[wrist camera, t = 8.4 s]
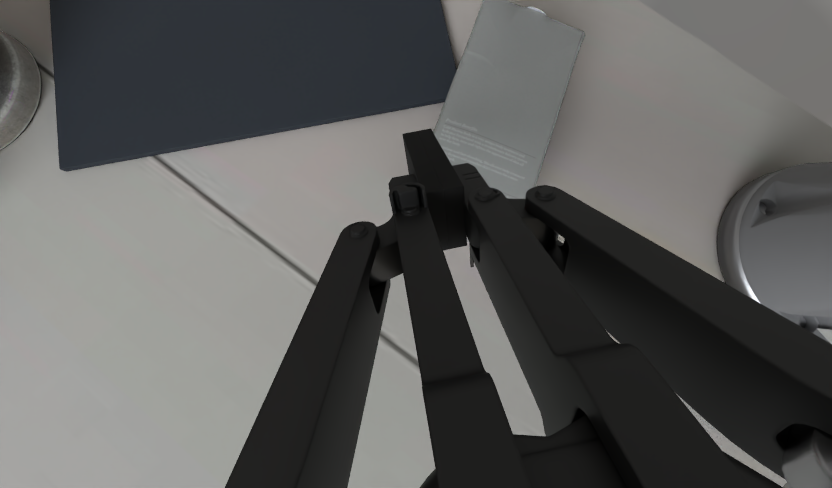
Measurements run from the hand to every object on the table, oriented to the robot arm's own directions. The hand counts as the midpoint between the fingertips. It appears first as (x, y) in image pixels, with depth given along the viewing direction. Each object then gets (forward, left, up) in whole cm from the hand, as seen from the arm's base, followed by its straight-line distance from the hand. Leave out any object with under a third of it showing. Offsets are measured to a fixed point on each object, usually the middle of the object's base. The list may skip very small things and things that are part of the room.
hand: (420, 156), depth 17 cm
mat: (+12, -20, -11) cm, 26 cm away
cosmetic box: (-3, +2, -7) cm, 8 cm away
